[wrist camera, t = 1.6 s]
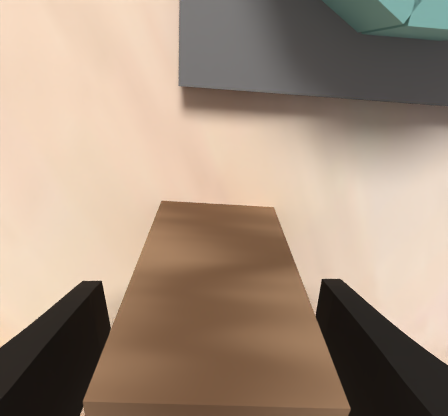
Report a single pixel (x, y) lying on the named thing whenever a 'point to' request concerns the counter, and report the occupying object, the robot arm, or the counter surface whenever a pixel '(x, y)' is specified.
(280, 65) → the collar
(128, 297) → the walnut peg
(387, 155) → the counter surface
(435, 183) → the counter surface
